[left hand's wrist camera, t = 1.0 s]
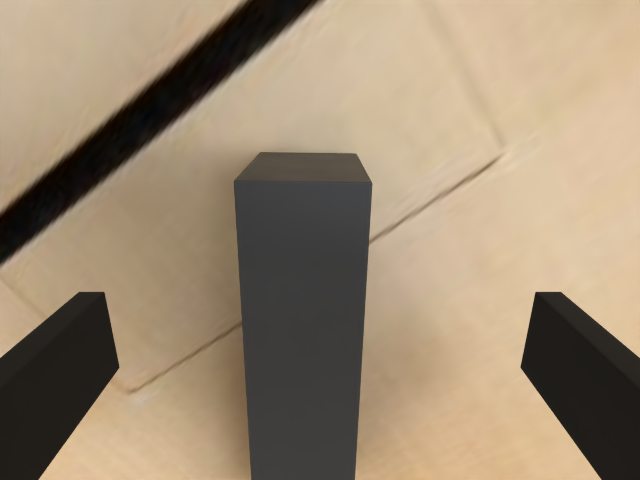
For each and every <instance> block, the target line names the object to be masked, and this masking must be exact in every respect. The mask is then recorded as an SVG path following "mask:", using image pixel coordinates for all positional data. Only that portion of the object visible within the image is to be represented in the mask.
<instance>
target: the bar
mask: <svg viewBox="0 0 640 480" xmlns="http://www.w3.org/2000/svg"><path fill="white" fill-rule="evenodd" d="M234 192H235V209H236V226H237V243H238V260H239V277H240V294H241V310H242V327H243V344H244V361H245V378H246V395H247V412H248V429H249V446H250V463H251V480H355V467H356V450H357V433H358V416H359V399H360V382H361V365H362V349H363V332H364V315H365V298H366V281H367V264H368V247H369V230H370V213H371V197H372V182H371V180H370V178H369V176H368V175H367V173H366V171H365V169H364V167H363V165H362V163H361V162H360V160H359V158H358V156H357V154H337V153H269V152H261V153H260V154H259V155H258V156H257V157H256V158H255V159H254V160H253V161H252V162H251V163H250V164H249V165H248V166H247V168H246V169H245V170H244V171H243V172H242V173H241V174H240V175H239V176H238V177H237V178H236V179H235V180H234Z"/></svg>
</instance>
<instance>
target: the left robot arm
mask: <svg viewBox="0 0 640 480" xmlns="http://www.w3.org/2000/svg"><path fill="white" fill-rule="evenodd" d="M118 369H119V363H118V358H117V353H116V348H115V343H114V338H113V333H112V328H111V323H110V318H109V313H108V308H107V303H106V298H105V293H104V292H79V293H77V294H76V295H75V296H74V297H73V298H71V299H70V300H69V301H68V302H67V303H65V304H64V305H63V306H62V307H61V308H59V309H58V310H57V311H56V312H55V313H53V314H52V315H51V316H50V317H49V318H48V319H46V320H45V321H44V322H43V323H42V324H40V325H39V326H38V327H37V328H36V329H34V330H33V331H32V332H31V333H30V334H28V335H27V336H26V337H25V338H24V339H22V340H21V341H20V342H19V343H18V344H16V345H15V346H14V347H13V348H12V349H11V350H9V351H8V352H7V353H6V354H5V355H3V356H2V357H1V358H0V480H38V479H39V478H40V477H41V475H42V474H43V473H44V471H45V470H46V468H47V467H48V466H49V464H50V463H51V461H52V460H53V459H54V457H55V456H56V455H57V453H58V452H59V450H60V449H61V448H62V446H63V445H64V444H65V442H66V441H67V439H68V438H69V437H70V435H71V434H72V432H73V431H74V430H75V428H76V427H77V426H78V424H79V423H80V421H81V420H82V419H83V417H84V416H85V414H86V413H87V412H88V410H89V409H90V408H91V406H92V405H93V403H94V402H95V401H96V399H97V398H98V396H99V395H100V394H101V392H102V391H103V390H104V388H105V387H106V385H107V384H108V383H109V381H110V380H111V379H112V377H113V376H114V374H115V373H116V372H117V370H118ZM521 369H522V370H523V372H524V373H525V374H526V376H527V377H528V379H529V380H530V381H531V383H532V384H533V385H534V387H535V388H536V390H537V391H538V392H539V394H540V395H541V397H542V398H543V399H544V401H545V402H546V403H547V405H548V406H549V408H550V409H551V410H552V412H553V413H554V414H555V416H556V417H557V419H558V420H559V421H560V423H561V424H562V426H563V427H564V428H565V430H566V431H567V432H568V434H569V435H570V437H571V438H572V439H573V441H574V442H575V444H576V445H577V446H578V448H579V449H580V450H581V452H582V453H583V455H584V456H585V457H586V459H587V460H588V461H589V463H590V464H591V466H592V467H593V468H594V470H595V471H596V473H597V474H598V475H599V477H600V478H601V479H602V480H640V358H639V357H638V356H637V355H635V354H634V353H633V352H632V351H631V350H629V349H628V348H627V347H626V346H625V345H623V344H622V343H621V342H620V341H619V340H618V339H616V338H615V337H614V336H613V335H612V334H610V333H609V332H608V331H607V330H606V329H604V328H603V327H602V326H601V325H600V324H598V323H597V322H596V321H595V320H594V319H592V318H591V317H590V316H589V315H588V314H587V313H585V312H584V311H583V310H582V309H581V308H579V307H578V306H577V305H576V304H575V303H573V302H572V301H571V300H570V299H569V298H567V297H566V296H565V295H564V294H563V293H561V292H536V293H535V298H534V303H533V308H532V313H531V318H530V323H529V328H528V333H527V338H526V343H525V348H524V353H523V358H522V363H521Z"/></svg>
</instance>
